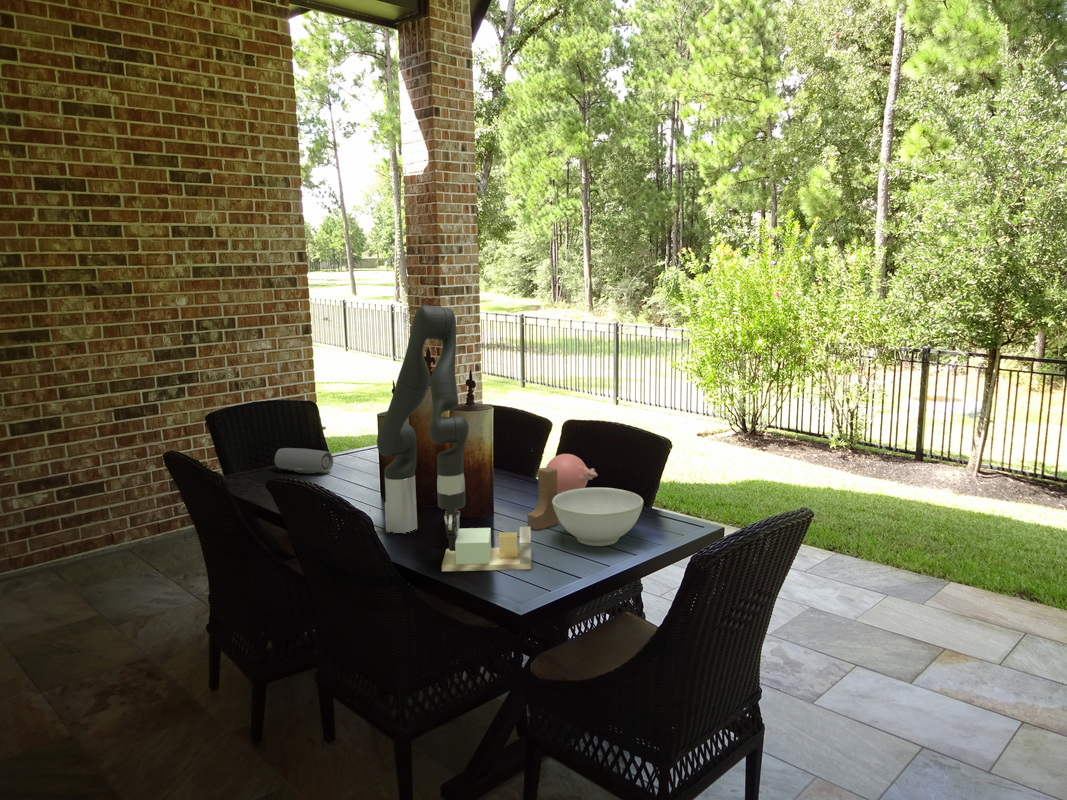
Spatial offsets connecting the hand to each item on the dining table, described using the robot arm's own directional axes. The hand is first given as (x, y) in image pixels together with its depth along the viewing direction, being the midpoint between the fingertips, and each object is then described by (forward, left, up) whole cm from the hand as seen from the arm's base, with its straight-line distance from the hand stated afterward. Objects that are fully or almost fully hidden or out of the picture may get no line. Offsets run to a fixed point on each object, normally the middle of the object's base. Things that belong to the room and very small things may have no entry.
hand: (453, 550), depth 214 cm
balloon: (+36, +59, -4) cm, 70 cm away
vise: (+9, 0, -4) cm, 10 cm away
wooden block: (+25, +29, -4) cm, 39 cm away
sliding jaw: (+6, 0, -2) cm, 6 cm away
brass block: (+15, 0, -2) cm, 15 cm away
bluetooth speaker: (-70, +103, -4) cm, 125 cm away
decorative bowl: (+41, +16, -4) cm, 45 cm away
